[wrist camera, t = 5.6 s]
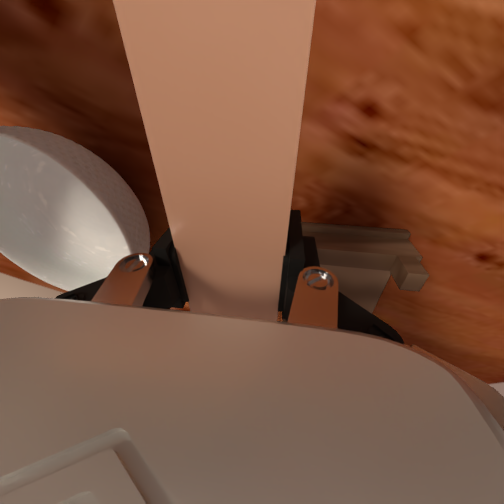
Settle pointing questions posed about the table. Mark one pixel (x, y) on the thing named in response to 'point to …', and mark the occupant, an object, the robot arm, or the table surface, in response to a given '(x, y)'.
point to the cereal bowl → (64, 209)
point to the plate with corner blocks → (367, 259)
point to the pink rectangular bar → (223, 136)
